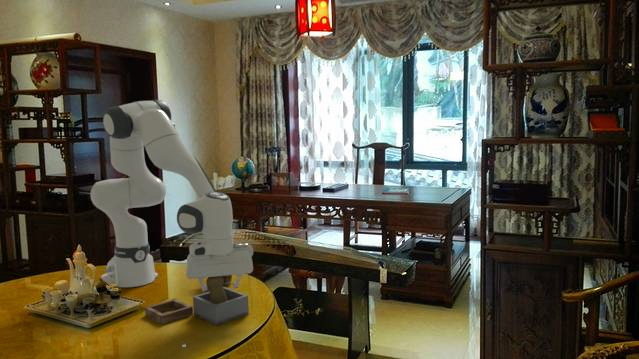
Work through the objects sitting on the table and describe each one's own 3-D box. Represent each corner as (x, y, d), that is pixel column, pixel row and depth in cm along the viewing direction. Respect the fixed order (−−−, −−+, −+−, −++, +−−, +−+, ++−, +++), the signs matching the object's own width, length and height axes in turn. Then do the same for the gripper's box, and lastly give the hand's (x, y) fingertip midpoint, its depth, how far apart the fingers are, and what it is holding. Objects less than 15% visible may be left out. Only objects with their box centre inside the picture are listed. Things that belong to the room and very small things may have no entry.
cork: (232, 309, 158) (225, 275, 157) (213, 315, 156) (206, 280, 155) (227, 304, 164) (221, 271, 163) (209, 310, 161) (202, 276, 160)
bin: (193, 315, 160) (192, 296, 159) (225, 304, 168) (225, 286, 168) (216, 325, 151) (215, 306, 151) (248, 314, 160) (248, 295, 159)
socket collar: (145, 315, 160) (145, 307, 160) (175, 306, 168) (175, 298, 167) (162, 324, 153) (162, 316, 153) (192, 314, 160) (192, 306, 160)
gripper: (251, 240, 163) (252, 282, 165) (184, 245, 158) (186, 289, 159) (254, 245, 157) (255, 289, 159) (185, 251, 152) (187, 296, 153)
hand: (220, 289), depth 159 cm, fingers open, 8 cm apart
